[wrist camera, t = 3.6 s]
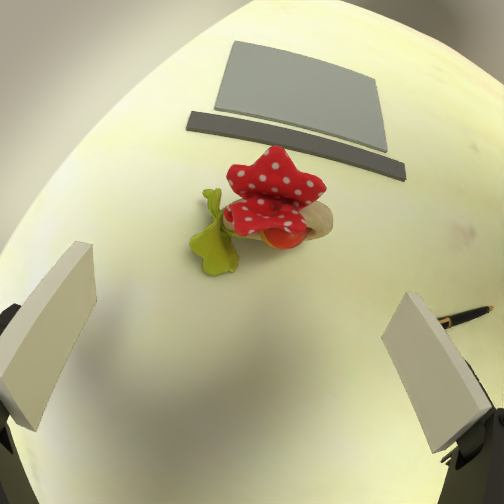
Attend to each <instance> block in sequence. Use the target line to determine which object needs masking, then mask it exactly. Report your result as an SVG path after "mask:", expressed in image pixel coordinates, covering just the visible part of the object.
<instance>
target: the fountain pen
mask: <svg viewBox="0 0 504 504" xmlns="http://www.w3.org/2000/svg"><path fill="white" fill-rule="evenodd" d="M493 308H494V307H492V306H490V307H488V306H486V307H484V308H480V309H476V310H472V311H468V312H464V313H460V314H457V315H453V316H450V317H449V316H447V317H444V318H440V319H437V320H438V321H439V323H440V324H441V325H442V327H443V328H444V330H445V329H448V328H451V327H452V326H455V325H458V324H461V323H464V322H467V321H470V320H472V319H475V318H477V317H480V316H482V315H484V314H486V313H489V311H492V309H493Z"/></svg>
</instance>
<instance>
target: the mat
mask: <svg viewBox="0 0 504 504" xmlns="http://www.w3.org/2000/svg"><path fill="white" fill-rule="evenodd" d="M215 110H218V111H224V112H230V113H236V114H241V115H246V116H251V117H256V118H261V119H266V120H271V121H275V122H280V123H284V124H288V125H293V126H297V127H301V128H305V129H309V130H312V131H316V132H320V133H324V134H327V135H331V136H334V137H338V138H341V139H344V140H348V141H351V142H354V143H358V144H361V145H364V146H367V147H370V148H373V149H376V150H379V151H382V152H385V153H386V152H387V151H388V150H387V143H386V137H385V130H384V124H383V118H382V113H381V107H380V102H379V97H378V92H377V87H376V83H375V79H373V78H371V77H368V76H365V75H363V74H360V73H357V72H354V71H352V70H349V69H346V68H343V67H340V66H337V65H334V64H331V63H328V62H324V61H321V60H318V59H314V58H311V57H307V56H303V55H300V54H296V53H292V52H288V51H284V50H280V49H275V48H271V47H266V46H261V45H256V44H251V43H246V42H240V41H235V42H234V45H233V48H232V51H231V54H230V57H229V61H228V64H227V67H226V71H225V74H224V77H223V81H222V84H221V88H220V91H219V95H218V98H217V102H216V105H215ZM187 130H188V131H195V132H201V133H208V134H214V135H220V136H226V137H232V138H237V139H243V140H248V141H253V142H258V143H263V144H268V145H272V146H280V147H282V148H286V149H290V150H295V151H299V152H303V153H307V154H311V155H315V156H319V157H323V158H327V159H331V160H334V161H338V162H342V163H345V164H349V165H352V166H356V167H359V168H363V169H366V170H369V171H373V172H376V173H379V174H382V175H385V176H388V177H392V178H395V179H398V180H401V181H405V180H406V172H405V165H404V163H402V162H399V161H396V160H393V159H390V158H387V157H385V156H382V155H379V154H376V153H373V152H370V151H366V150H363V149H360V148H357V147H354V146H350V145H347V144H344V143H340V142H337V141H333V140H330V139H326V138H322V137H319V136H315V135H311V134H307V133H303V132H299V131H295V130H291V129H287V128H282V127H278V126H274V125H269V124H264V123H259V122H254V121H249V120H244V119H239V118H233V117H228V116H222V115H216V114H209V113H203V112H196V111H192V112H191V115H190V118H189V121H188V124H187Z"/></svg>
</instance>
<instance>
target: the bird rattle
mask: <svg viewBox="0 0 504 504" xmlns="http://www.w3.org/2000/svg"><path fill="white" fill-rule="evenodd" d="M226 178H227V180H228V182H229V184H230V186H231V188H232V190H233V191H234V192H235V193H236V194H238V195H239V196H240V197H242V199H239V200H237V201H234V202H233V203H231V204H230V205H228V206H226V207H225V208H223V209H222V210H219V205H220V199H221V189H217V188H216V189H215V191H214V190H211V189H206V190H204V191H203V195H204V197H205V198H207V199H208V202H207V205H208V208H209V211H210V213H211V215H212V218H213V219H214V222H213V223H211V224H210V225H209V226H208V227H207V228H206V229H205V230H204V231H203V232H201V233H200V234H198V235H195V236H193V237H192V238H191V239H190V243H189V246H190V248H191V249H192V251H193V252H194V253H195V254H196V255H198V256H200V257H202V258H203V262H202V268H203V271H204V272H205V273H207V274H209V275H211V276H216V275H219V274H222V273H224V272H227V271H230V272H232V273H233V272H234V271H235V270H236V268H237V265H238V261H239V256H238V254H237V251H236V249H235V247H234V245H233V244H232V242H231V239H230V237H234V238H244V237H245V238H250V239H256V240H263V241H264V242H265V243H266V244H267V245H269V246H271V247H273V248H276V249H290V248H293V247H295V246H297V245H299V244H300V243H302V242H303V241H304V240H311V239H316V238H320V237H323V236H325V235H327V234H328V233H329V232H330V231H331V230H332V227H333V215H332V212H331V210H330V209H329V208H328V207H327V206H326V205H324V204H322V203H320V202H318V201H316V200H317V199H318V198H319V197H320V196H321V195H322V194H323V193H324V192H325V191H326V189H327V188H326V186H325V184H324V183H323V182H322V180H321V179H320V178H319V177H317V176H315V175H311V174H308V173H303V172H300V171H299V170H298V169H297V168H296V167H295V165H294V164H293V162H292V160H291V159H290V157H289V156H288V154H287V153H286V151H285V149H284V148H282V147H280V146H272V147H270V148H269V149H268V150H266V152H265V153H264V154H263V155H262V156H261V157H260V158H259V159H258V160H257V161H256V162H255V163H254V164H252V165H251V166H246V165H236V164H234V165H231V167H230V169H229V170H228V173H227V176H226ZM229 236H230V237H229Z"/></svg>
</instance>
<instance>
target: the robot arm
mask: <svg viewBox="0 0 504 504" xmlns="http://www.w3.org/2000/svg"><path fill="white" fill-rule="evenodd" d="M96 302H97V297H96V288H95V277H94V264H93V248H92V244H88V243H83V242H77V241H75V242H74V243H73V245H72V246H71V247H70V248H69V249H68V250H67V251H66V252H65V253H64V255H63V256H62V257H61V258H60V259H59V260H58V262H57V263H56V264H55V265H54V266H53V267H52V269H51V270H50V271H49V272H48V273H47V275H46V276H45V277H44V278H43V279H42V281H41V282H40V283H39V284H38V286H37V287H36V288H35V289H34V291H33V292H32V293H31V295H30V296H29V297H28V298H27V300H26V301H25V302H24V304H23V305H22V306H21V305H18V304H13V305H11V306H10V307H8V308H7V309H5V310H4V311H3V312H2V313H1V314H0V504H39V502H38V500H37V498H36V496H35V494H34V492H33V490H32V487H31V485H30V483H29V480H28V478H27V476H26V473H25V471H24V468H23V466H22V463H21V461H20V458H19V455H18V452H17V450H16V447H15V444H14V441H13V438H12V435H11V431H10V428H9V426H8V424H7V419H8V417H9V415H11V417H12V418H13V420H14V421H15V422H16V424H18V425H20V426H23V427H25V428H27V429H29V430H32V431H34V432H36V431H37V429H38V426H39V423H40V421H41V418H42V416H43V413H44V411H45V408H46V406H47V403H48V401H49V398H50V396H51V394H52V391H53V389H54V387H55V384H56V382H57V380H58V378H59V376H60V373H61V371H62V369H63V367H64V365H65V363H66V360H67V358H68V356H69V354H70V352H71V350H72V348H73V346H74V344H75V342H76V340H77V338H78V336H79V334H80V332H81V330H82V328H83V326H84V324H85V322H86V320H87V319H88V317H89V315H90V313H91V311H92V309H93V307H94V306H95V304H96ZM381 339H382V341H383V343H384V345H385V347H386V349H387V351H388V353H389V355H390V357H391V359H392V361H393V363H394V366H395V368H396V370H397V372H398V374H399V376H400V378H401V381H402V383H403V385H404V387H405V389H406V392H407V394H408V396H409V398H410V401H411V403H412V405H413V408H414V410H415V412H416V415H417V417H418V419H419V422H420V424H421V427H422V429H423V432H424V434H425V436H426V439H427V441H428V444H429V447H430V449H431V452H432V454H433V453H436V452H440V451H443V450H446V449H447V448H448V447H449V446H451V445H452V444H453V443H454V442H455V441H456V442H457V445H458V446H457V447H456V448H454V449H453V450H452V451H451V452H450V453H448V454H447V455H446V456H445V457H443V458H442V460H441V463H443V462H444V461H446V460H447V459H448V458H449V457H451V459H450V460H449V461H448V462H447V463H446V465H448V466H449V468H448V471H447V475H446V478H445V482H444V485H443V488H442V492H441V495H440V498H439V501H438V504H504V409H503V408H498V409H497V410H496V408H495V407H494V405H493V403H492V402H491V400H490V398H489V396H488V394H487V393H486V391H485V389H484V388H483V386H482V384H481V383H480V382H479V379H478V378H477V376H476V375H475V373H474V371H473V369H472V368H471V366H470V365H469V363H468V362H467V361H466V360H465V359H464V358H463V357H462V355H461V354H460V352H459V351H458V349H457V348H456V346H455V345H454V343H453V342H452V340H451V339H450V337H449V336H448V334H447V333H446V331H445V330H444V328H443V327H442V325H441V324H440V323H439V321H438V320H437V318H436V317H435V316H434V314H433V313H432V311H431V310H430V309H429V307H428V306H427V304H426V303H425V302H424V300H423V299H422V298H421V296H420V295H419V294H418V293H411V292H406V293H405V295H404V297H403V299H402V301H401V303H400V304H399V306H398V308H397V310H396V312H395V314H394V316H393V317H392V319H391V321H390V323H389V325H388V326H387V328H386V330H385V332H384V333H383V335H382V337H381Z"/></svg>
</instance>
